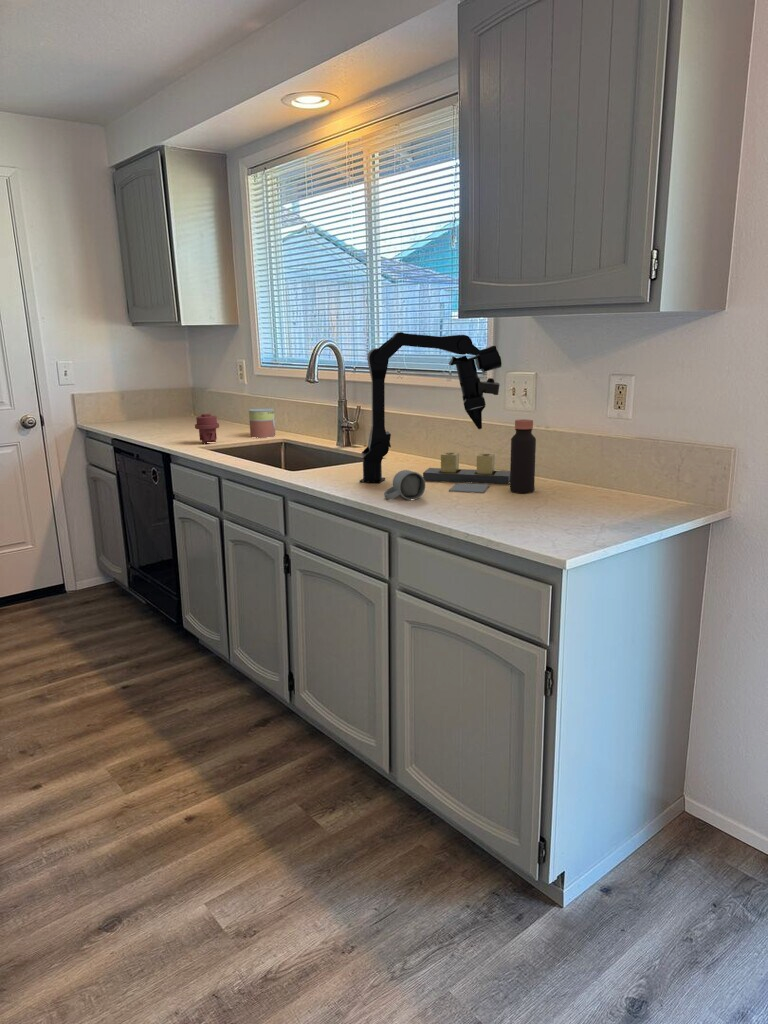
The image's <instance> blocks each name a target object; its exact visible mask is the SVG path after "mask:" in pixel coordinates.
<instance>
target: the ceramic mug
mask: <svg viewBox="0 0 768 1024" xmlns="http://www.w3.org/2000/svg"><path fill="white" fill-rule="evenodd" d="M425 491H426V481H425V480H424V478H423V474H420V473H419V472H416V471H412V470H409V469H404V470H403V469H402V470H399V471H398V472H397V473H396V474H395V475H394V476H393V479H392V486H390V487H389V488H388V489H386V490H385V491H384V492H383V495H384V499H386V500H393V499H396V498H397V497H399V496H401V498H403V499H405V500H408V501H412V500H411V499H416V500H418V499H419V498H421V496H423V494H424V493H425Z"/></svg>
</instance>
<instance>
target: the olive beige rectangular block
mask: <svg viewBox="0 0 768 1024" xmlns="http://www.w3.org/2000/svg"><path fill="white" fill-rule="evenodd" d="M495 459H496V457H495V453H478V454H477V455H476V470H477V474H483V475H494V470H495Z"/></svg>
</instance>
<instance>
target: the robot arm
mask: <svg viewBox="0 0 768 1024" xmlns="http://www.w3.org/2000/svg"><path fill="white" fill-rule="evenodd" d="M402 347H413V348H416V347H417V348H426V349H435V350H436V349H437V350H442V351H445V352H448V353H451V354H452V353H453V354H456V355H461V356H459V357H456V356H453V355H452V356H451V360H450V361H449V362H448V365H449V366H455V367H456V372H457V376H458V380H459V385H460V386H459V387H460V389H461V393H462V401H463V402H462V403H463V407H464V410H465V412H466V414H467V415H468V416H469V418H470V419H471V421H472V423H474V426H476V428H477V430H482V429H483V423H482V422H483V420H482V419H483V417H482V416H483V415H482V412H483V411H484V409H485V408H486V400H485V397H484V394H491V395H495V396H499V392H500V385H501V384H500V383H499V382H496V381H495V379H494V378H492V377H490V378H489V377H488V379H487V380H485V381H483V380H481V378H480V377H479V375H478V371H481V372H482V373H486V372H489V371H492V370H496V369H499V368H502V358H501V355H500V354H499V351H498V349H497V346H496V345H490V346H488V347H486V348H482V349H479V348H478V347H476V346H475V345H474V344H473V340H472V339H471V337H470V336H469V335H466V334H452V335H442V336H437V335H428V334H427V335H425V334H415V333H405V332H402V331H399V332H395V333H394V334H393V335H392V336H391V337H390V338H389V339H387V340H386V341H385V342H384V343H382V345H380V346H379V347H376V348H372V349H371V350H370V351H368V353H367V358H366V360H367V366H368V370H369V374H370V379H371V428H370V431H369V435H368V436H369V437H368V442H367V446H366V447H365V448H364V450H362V452H360V453H361V456H362V459H363V461H362V478H361V479H359V483H368V484H372V483H373V484H380V483H382V482H383V481H384V480H386V477H383V476H382V471H383V470H382V466H383V465H382V463H383V458H384V457H386V456H387V454H388V453H389V449H390V448H392V445H391V438H392V437H391V436H392V434H391V432H390V431H386V427H385V426H386V425H385V423H386V422H385V415H386V413H385V394H386V393H385V389H386V388H385V387H386V386H385V380H386V376H387V372H388V367H389V360H390V358H391V357H392V356H393V355H394V354H396V353H397V352H398V351H399V350H400V349H401V348H402ZM467 355H469V356H472V357H467ZM477 370H478V371H477Z"/></svg>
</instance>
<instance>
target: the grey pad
mask: <svg viewBox="0 0 768 1024" xmlns="http://www.w3.org/2000/svg"><path fill="white" fill-rule="evenodd" d="M490 485H491V484H485V483H463V482H455V484H453V486H452V487H451V488H449V489H448V492H450V491H457V492H456V493H470V492H475V494H485V492H486V491H487V490H488V489H489V487H490ZM487 488H488V489H487Z"/></svg>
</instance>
